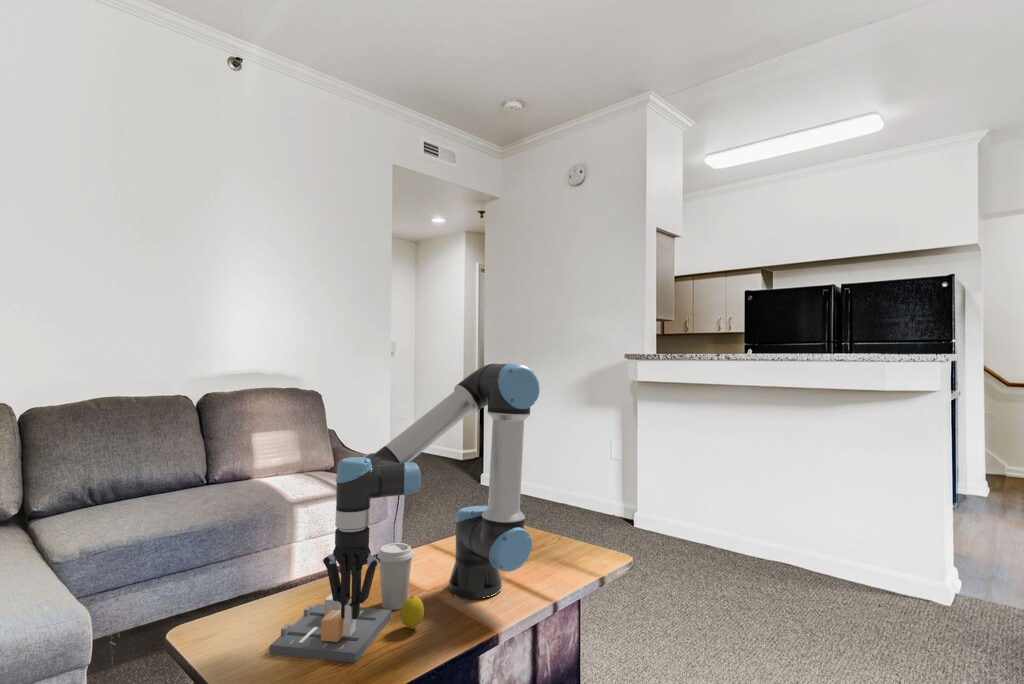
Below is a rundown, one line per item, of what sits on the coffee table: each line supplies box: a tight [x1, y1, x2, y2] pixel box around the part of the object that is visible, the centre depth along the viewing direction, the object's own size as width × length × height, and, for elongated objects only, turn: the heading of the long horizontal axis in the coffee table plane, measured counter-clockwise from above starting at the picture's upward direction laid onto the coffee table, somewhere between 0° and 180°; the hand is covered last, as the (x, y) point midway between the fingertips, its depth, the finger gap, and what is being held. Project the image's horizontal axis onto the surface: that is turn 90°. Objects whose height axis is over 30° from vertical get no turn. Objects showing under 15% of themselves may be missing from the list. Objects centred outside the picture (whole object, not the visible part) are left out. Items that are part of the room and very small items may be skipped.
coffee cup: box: [376, 542, 414, 611], centre depth 146 cm, size 10×10×15 cm
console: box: [269, 603, 393, 664], centre depth 130 cm, size 20×21×3 cm
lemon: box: [400, 594, 425, 630], centre depth 133 cm, size 6×6×8 cm
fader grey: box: [324, 593, 341, 617], centre depth 135 cm, size 4×5×5 cm
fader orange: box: [321, 610, 345, 642], centre depth 124 cm, size 4×5×5 cm
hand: (349, 632), depth 124 cm, fingers closed
